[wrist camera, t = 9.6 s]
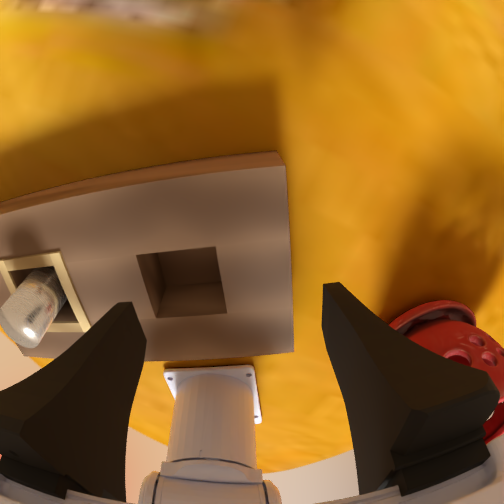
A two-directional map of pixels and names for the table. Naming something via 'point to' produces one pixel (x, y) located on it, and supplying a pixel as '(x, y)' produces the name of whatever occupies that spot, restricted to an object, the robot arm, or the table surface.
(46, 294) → the pin
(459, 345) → the plant pot
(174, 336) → the bore block
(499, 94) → the table surface
